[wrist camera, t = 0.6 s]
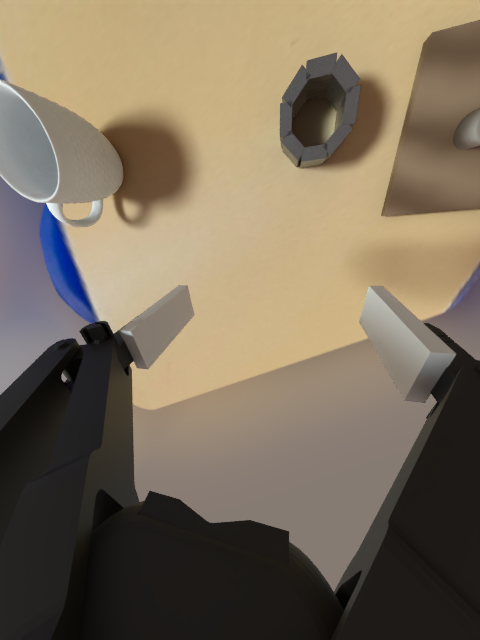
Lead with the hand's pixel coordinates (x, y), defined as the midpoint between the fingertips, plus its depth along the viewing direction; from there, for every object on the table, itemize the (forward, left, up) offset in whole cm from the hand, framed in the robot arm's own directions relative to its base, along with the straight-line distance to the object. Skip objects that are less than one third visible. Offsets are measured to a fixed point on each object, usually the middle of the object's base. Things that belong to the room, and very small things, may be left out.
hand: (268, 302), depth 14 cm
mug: (-14, -30, -23) cm, 40 cm away
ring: (-15, +4, -23) cm, 27 cm away
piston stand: (-12, +21, -23) cm, 33 cm away
